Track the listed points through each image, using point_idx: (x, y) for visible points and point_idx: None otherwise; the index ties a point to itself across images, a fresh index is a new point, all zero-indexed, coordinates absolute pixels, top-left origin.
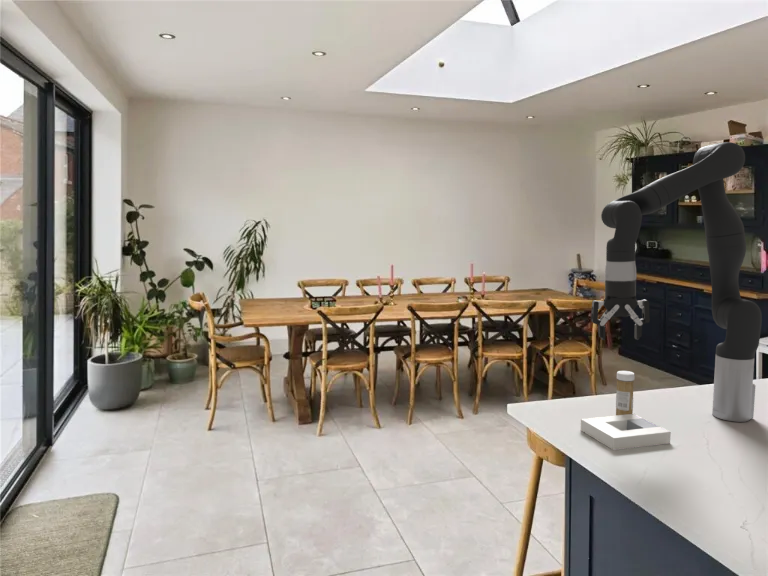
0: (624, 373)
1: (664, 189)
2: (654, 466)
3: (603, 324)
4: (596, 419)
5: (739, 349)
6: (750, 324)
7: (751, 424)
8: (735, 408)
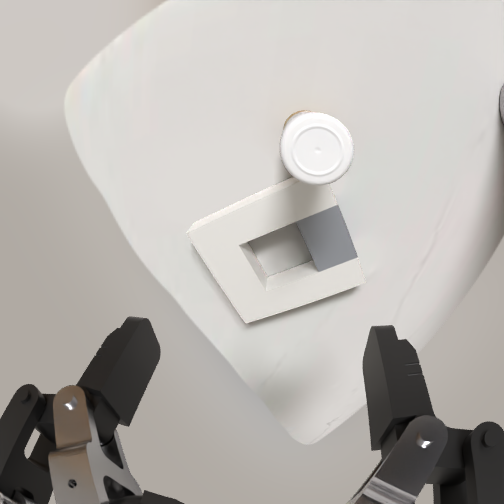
0: (307, 173)
1: None
2: (297, 350)
3: (112, 435)
4: (220, 231)
5: None
6: None
7: None
8: None
